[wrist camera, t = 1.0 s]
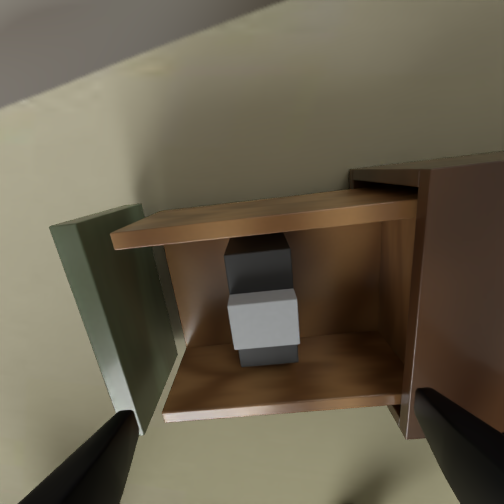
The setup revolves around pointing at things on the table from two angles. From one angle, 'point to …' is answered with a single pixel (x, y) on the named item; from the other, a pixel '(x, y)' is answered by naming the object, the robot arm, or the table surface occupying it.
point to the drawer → (217, 295)
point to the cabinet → (453, 283)
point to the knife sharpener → (262, 300)
